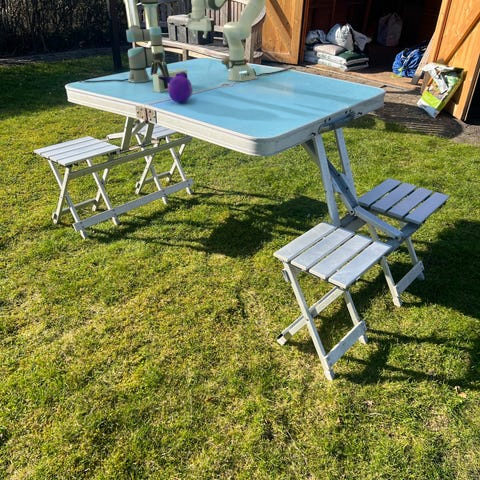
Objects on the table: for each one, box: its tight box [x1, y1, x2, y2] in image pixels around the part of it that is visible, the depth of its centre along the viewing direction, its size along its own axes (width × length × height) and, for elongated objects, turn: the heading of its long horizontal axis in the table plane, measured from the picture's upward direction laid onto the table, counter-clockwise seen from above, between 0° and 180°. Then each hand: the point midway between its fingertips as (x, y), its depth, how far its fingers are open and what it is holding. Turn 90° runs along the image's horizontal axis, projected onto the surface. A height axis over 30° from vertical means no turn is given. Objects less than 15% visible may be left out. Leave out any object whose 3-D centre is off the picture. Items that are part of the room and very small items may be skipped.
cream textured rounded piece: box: [221, 54, 230, 71], centre depth 369 cm, size 21×12×15 cm, turn 120°
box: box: [151, 68, 189, 93], centre depth 311 cm, size 26×6×11 cm, turn 137°
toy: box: [158, 72, 193, 103], centre depth 279 cm, size 16×18×27 cm
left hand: (161, 87), depth 307 cm, fingers open, 10 cm apart
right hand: (200, 37), depth 311 cm, fingers open, 8 cm apart
